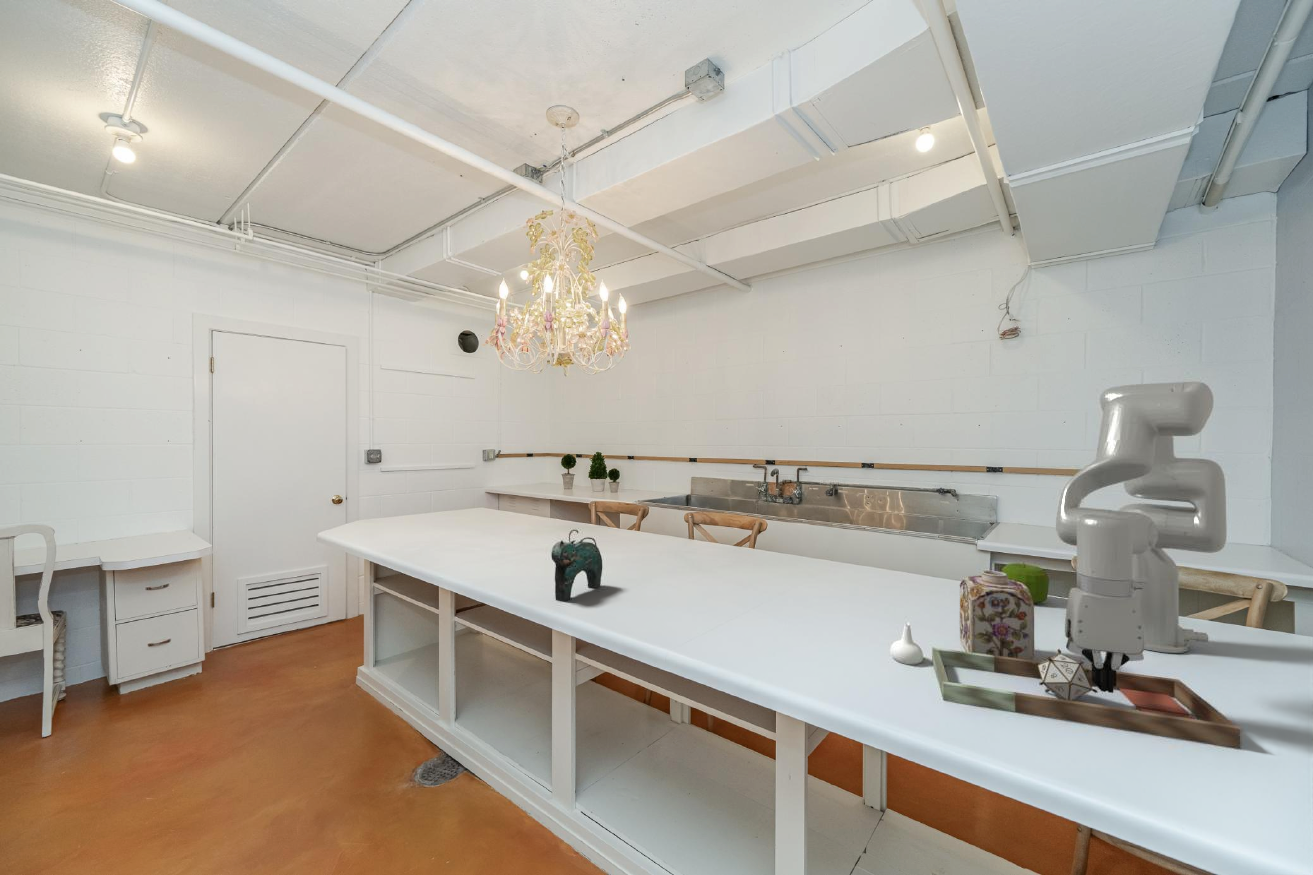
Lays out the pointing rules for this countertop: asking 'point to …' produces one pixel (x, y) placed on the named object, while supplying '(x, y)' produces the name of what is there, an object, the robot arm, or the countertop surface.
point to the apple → (1029, 579)
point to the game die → (1064, 677)
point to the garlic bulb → (906, 649)
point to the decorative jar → (996, 616)
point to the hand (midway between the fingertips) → (1103, 688)
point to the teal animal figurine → (575, 565)
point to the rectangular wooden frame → (1141, 690)
